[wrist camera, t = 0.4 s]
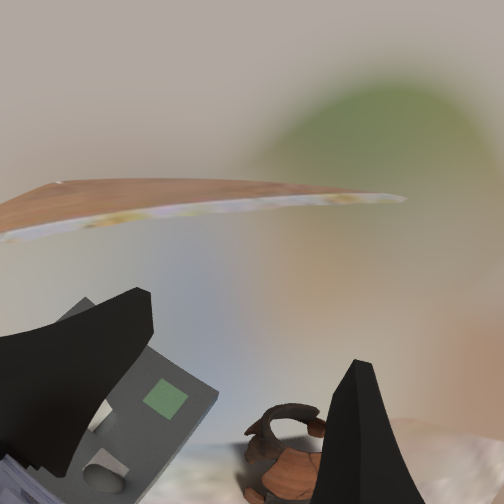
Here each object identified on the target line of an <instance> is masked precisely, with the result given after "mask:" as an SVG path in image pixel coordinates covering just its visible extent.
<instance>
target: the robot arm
mask: <svg viewBox="0 0 504 504" xmlns="http://www.w3.org/2000/svg"><path fill="white" fill-rule="evenodd" d="M152 319H153V318H152V307H151V293H150V292H148V291H145V290H143V289H140V288H138V287H136V288H133V289H131V290H129V291H126V292H124V293H122V294H120V295H118V296H116V297H114V298H111V299H109V300H107V301H105V302H103V303H101V304H98V305H96V306H94V307H92V308H90V309H88V310H85V311H83V312H81V313H78V314H76V315H73V316H71V317H69V318H66V319H64V320H61V321H59V322H56V323H53V324H50V325H47V326H44V327H41V328H38V329H34V330H31V331H27V332H22V333H18V334H13V335H9V336H3V337H0V504H38V503H39V504H66V503H65V502H63V501H62V500H61V499H60V498H58V497H57V496H56V495H54V494H53V493H52V492H51V491H49V490H48V489H47V488H46V487H45V486H44V485H42V484H41V483H40V482H39V481H38V480H37V479H35V478H34V477H33V476H32V475H31V474H30V473H29V472H28V471H27V470H26V469H27V468H28V467H29V466H30V465H31V466H32V467H33V468H34V469H35V470H36V471H38V470H39V469H40V468H41V466H42V467H44V468H45V469H46V470H47V471H49V472H50V473H51V474H52V475H54V476H55V477H56V478H63V477H65V476H66V473H67V470H68V468H69V465H70V463H71V460H72V458H73V456H74V453H75V451H76V449H77V447H78V445H79V443H80V441H81V439H82V437H83V435H84V433H85V431H86V430H87V428H88V426H89V424H90V422H91V421H92V419H93V417H94V416H95V414H96V412H97V411H98V409H99V407H100V406H101V404H102V403H103V401H104V400H105V398H106V397H107V396H108V394H109V393H110V392H111V391H112V389H113V388H114V387H115V386H116V384H117V383H118V382H119V381H120V380H121V378H122V377H123V376H124V375H125V373H126V372H127V371H128V370H129V369H130V367H131V366H132V365H133V364H134V362H135V361H136V360H137V359H138V357H139V356H140V355H141V353H142V352H143V350H144V349H145V347H146V345H147V344H148V342H149V340H150V339H151V337H152V335H153V333H154V329H153V320H152ZM30 496H31V497H32V498H33V499H34V500H36V501H37V502H38V503H36V502H34V501H33V500H31V499H30ZM309 504H425V502H424V500H423V498H422V497H421V495H420V493H419V491H418V490H417V488H416V486H415V484H414V482H413V480H412V478H411V476H410V473H409V471H408V469H407V467H406V464H405V462H404V460H403V457H402V455H401V452H400V450H399V447H398V445H397V442H396V439H395V437H394V434H393V431H392V428H391V425H390V422H389V419H388V416H387V413H386V410H385V407H384V404H383V400H382V397H381V394H380V390H379V387H378V383H377V380H376V376H375V373H374V369H373V366H372V364H371V363H368V362H364V361H360V360H356V359H354V360H353V362H352V364H351V365H350V367H349V369H348V371H347V372H346V374H345V376H344V377H343V379H342V381H341V382H340V384H339V385H338V387H337V389H336V391H335V392H334V394H333V397H332V401H331V405H330V408H329V412H328V416H327V420H326V427H325V434H324V440H323V447H322V453H321V459H320V465H319V470H318V476H317V480H316V484H315V488H314V491H313V494H312V497H311V500H310V503H309Z"/></svg>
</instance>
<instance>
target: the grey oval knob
mask: <svg viewBox="0 0 504 504" xmlns="http://www.w3.org/2000/svg"><path fill="white" fill-rule="evenodd" d="M83 479H84V481H85V483H86V484H87V485H88V486H89V487H90V488H92V489H94V490H98V491H103V492H107V493H112V494H119V493H121V492H122V491H123V490H124V489H125V481H124V479H123V478H122V476H120V475H119V474H117V473H115V472H113V471H111V470H109V469H107V468H105V467H103V466H101V465H99V464H90V465H88V466H86V467H85V469H84V471H83Z"/></svg>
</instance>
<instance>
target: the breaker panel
mask: <svg viewBox="0 0 504 504" xmlns="http://www.w3.org/2000/svg"><path fill="white" fill-rule="evenodd" d="M94 306H96V305H94V304H93V303H92V302H91V301H90V300H89V299H87V298H86V297H84V298H83V299H82V300H81V301H80V302H79V303H77V304H76V305H75V306H74V307H73V308H72V309H70V310H69V311H68V312H67V313H66V314H65V315H63V316H62V317H61V318H60V319H59V320H58V321H56V322H59V321H61V320H64V319H66V318H69V317H71V316H73V315H76V314H78V313H81V312H83V311H85V310H88V309H90V308H92V307H94ZM56 322H55V323H56ZM218 395H219V392H218V391H217V390H215V389H213V388H212V387H210V386H208V385H207V384H205V383H203V382H202V381H200V380H198V379H197V378H195V377H194V376H192V375H190V374H189V373H187V372H186V371H184V370H183V369H181V368H180V367H178V366H177V365H175V364H174V363H172V362H170V361H169V360H168V359H166V358H165V357H163V356H162V355H160V354H159V353H158V352H156V351H155V350H153V349H152V348H150V347H149V346H148V345H146V347H145V349H144V350H143V352H142V353H141V355H140V356H139V357H138V359H137V360H136V361H135V362H134V364H133V365H132V366H131V367H130V369H129V370H128V371H127V372H126V373H125V375H124V376H123V377H122V378H121V380H120V381H119V382H118V383H117V384H116V386H115V387H114V388H113V389H112V391H111V392H110V393H109V394H108V396H107V397H106V398H105V399H106V401H107V402H108V404H109V405H110V407H111V408H112V411H111V412H110V413H109V414H108V416H107V417H106V418H105V419H104V420H103V421H102V422H101V423H100V425H99V426H98V427H97V428H96V429H95V430H94V431H93V432H92V431H90V430H89V429H88V428H87V430H86V431H85V433H84V435H83V437H82V439H81V441H80V443H79V445H78V447H77V449H76V451H75V453H74V456H73V458H72V460H71V463H70V465H69V468H68V470H67V473H66V476H65V477H63V478H56V477H55V476H54V475H52V474H51V473H50V472H49V471H47V470H46V469H45V468H44V467H42V466H41V468H40V469H39V470H38V471H36V470H35V469H34V468H33V467H32V466H31V465H30V466H29V467H28V468H27V469H26V470H27V471H28V472H29V473H30V474H31V475H32V476H33V477H34V478H35V479H37V480H38V481H39V482H40V483H41V484H42V485H44V486H45V487H46V488H47V489H48V490H49V491H51V492H52V493H53V494H54V495H56V496H57V497H58V498H60V499H61V500H62V501H63V502H65V503H66V504H138V503H139V502H140V501H141V499H142V498H143V497H144V496H145V495H146V493H147V492H148V491H149V490H150V488H151V487H152V486H153V485H154V483H155V482H156V481H157V480H158V478H159V477H160V476H161V474H162V473H163V472H164V471H165V469H166V468H167V467H168V465H169V464H170V463H171V462H172V460H173V459H174V458H175V456H176V455H177V454H178V452H179V451H180V450H181V448H182V447H183V446H184V444H185V443H186V442H187V440H188V439H189V437H190V436H191V435H192V434H193V432H194V431H195V430H196V428H197V427H198V425H199V424H200V423H201V421H202V420H203V419H204V417H205V416H206V414H207V413H208V412H209V410H210V409H211V407H212V406H213V405H214V403H215V402H216V400H217V398H218ZM90 464H99V465H101V466H103V467H105V468H107V469H109V470H111V471H113V472H115V473H117V474H119V475H120V476H122V478H123V479H124V481H125V489H124V490H123V491H122V492H121V493H119V494H112V493H107V492H103V491H98V490H94V489H92V488H90V487H89V486H88V485H87V484H86V483H85V481H84V479H83V471H84V469H85V467H86V466H88V465H90Z"/></svg>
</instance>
